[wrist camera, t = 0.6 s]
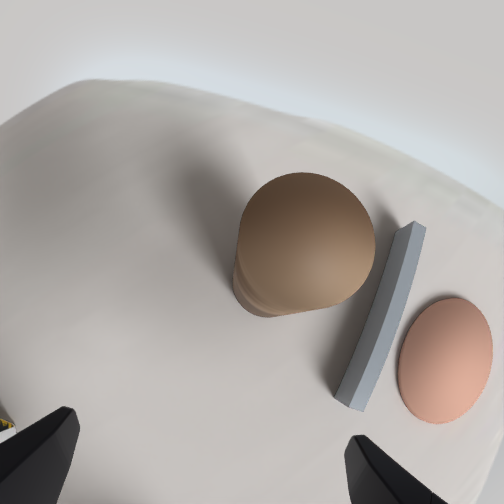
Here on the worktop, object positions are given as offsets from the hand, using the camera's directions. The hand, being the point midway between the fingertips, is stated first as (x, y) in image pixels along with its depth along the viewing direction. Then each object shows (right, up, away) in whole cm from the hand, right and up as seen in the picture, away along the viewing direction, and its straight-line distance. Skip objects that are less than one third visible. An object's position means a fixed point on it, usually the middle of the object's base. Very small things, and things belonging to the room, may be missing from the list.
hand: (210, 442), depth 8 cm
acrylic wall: (+11, +1, +14) cm, 18 cm away
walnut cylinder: (+2, +4, +14) cm, 15 cm away
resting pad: (+18, -4, +14) cm, 23 cm away
